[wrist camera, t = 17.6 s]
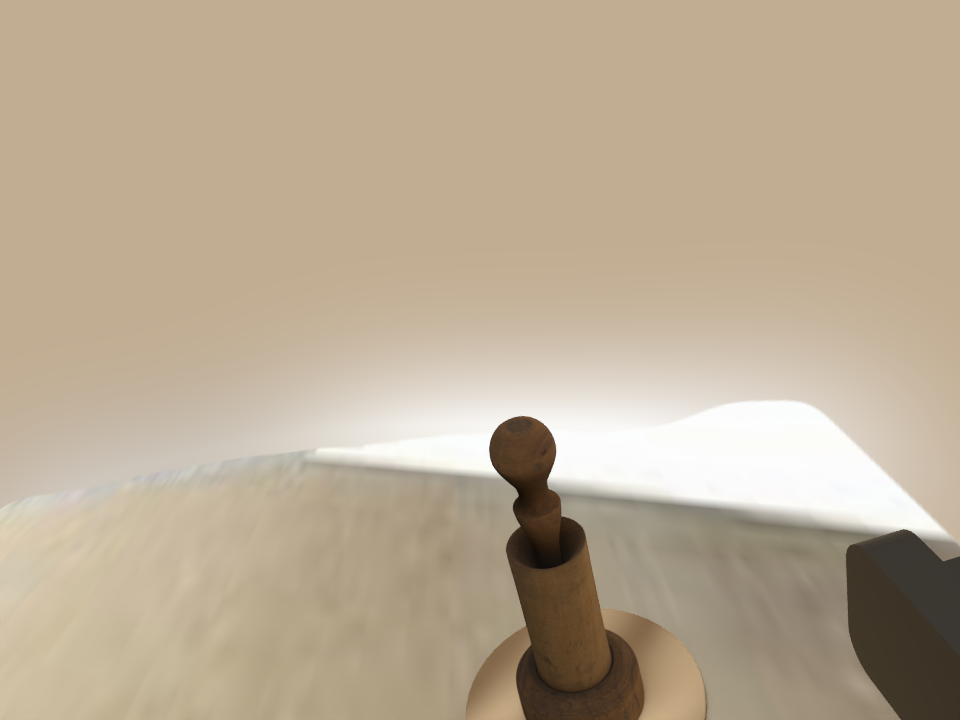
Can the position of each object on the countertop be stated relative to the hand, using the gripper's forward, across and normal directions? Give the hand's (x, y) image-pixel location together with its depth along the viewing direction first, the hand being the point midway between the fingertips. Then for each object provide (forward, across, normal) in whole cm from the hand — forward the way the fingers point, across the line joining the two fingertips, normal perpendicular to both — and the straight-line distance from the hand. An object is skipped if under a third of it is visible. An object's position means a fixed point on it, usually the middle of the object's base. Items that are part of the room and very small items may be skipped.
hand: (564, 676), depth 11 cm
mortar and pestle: (+25, -2, +30) cm, 39 cm away
